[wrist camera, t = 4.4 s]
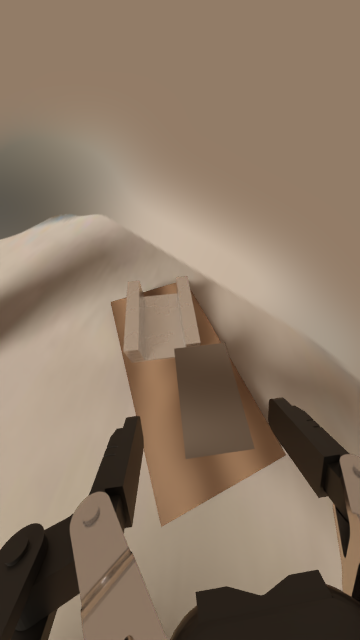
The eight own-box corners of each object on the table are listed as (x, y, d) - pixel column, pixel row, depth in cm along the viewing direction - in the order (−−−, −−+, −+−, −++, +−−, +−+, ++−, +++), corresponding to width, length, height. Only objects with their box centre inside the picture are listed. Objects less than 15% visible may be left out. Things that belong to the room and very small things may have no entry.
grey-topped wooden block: (217, 437, 15) (254, 448, 7) (184, 441, 15) (185, 459, 7) (206, 378, 18) (224, 342, 10) (177, 382, 17) (173, 348, 10)
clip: (197, 355, 19) (200, 342, 16) (132, 362, 19) (123, 351, 16) (186, 293, 24) (187, 276, 21) (134, 299, 23) (127, 281, 21)
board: (163, 519, 13) (161, 526, 12) (113, 307, 24) (110, 302, 23) (279, 452, 15) (285, 455, 14) (184, 285, 26) (185, 279, 25)
